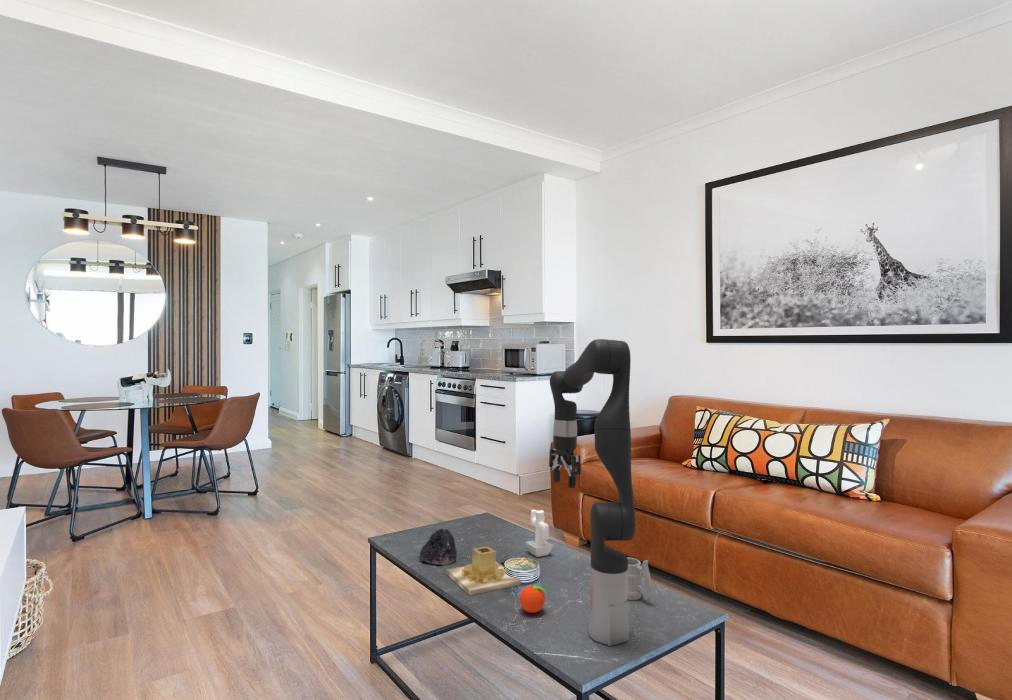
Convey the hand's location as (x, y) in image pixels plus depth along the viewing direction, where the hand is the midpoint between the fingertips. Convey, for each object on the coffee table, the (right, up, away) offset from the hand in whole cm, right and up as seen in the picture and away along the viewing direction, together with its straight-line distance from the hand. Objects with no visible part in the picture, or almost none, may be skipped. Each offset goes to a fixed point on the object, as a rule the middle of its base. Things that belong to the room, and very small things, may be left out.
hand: (563, 484), depth 182 cm
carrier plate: (-25, -28, -7) cm, 38 cm away
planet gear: (-25, -26, -7) cm, 37 cm away
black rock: (-41, -27, +10) cm, 50 cm away
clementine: (-11, -28, -27) cm, 41 cm away
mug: (+19, -29, -17) cm, 38 cm away
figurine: (-7, -28, +16) cm, 33 cm away
